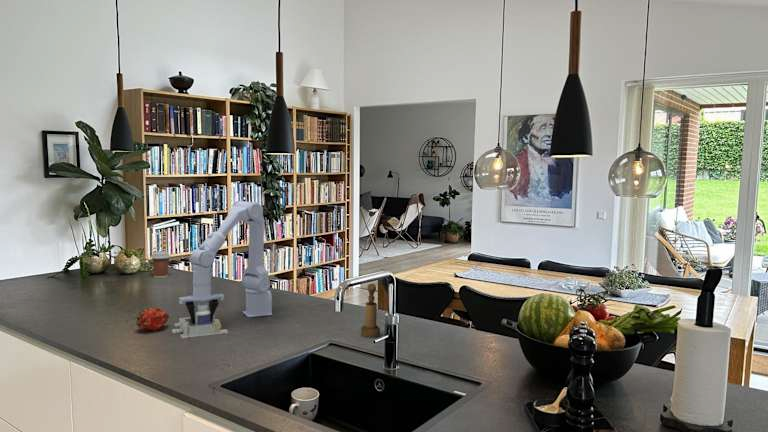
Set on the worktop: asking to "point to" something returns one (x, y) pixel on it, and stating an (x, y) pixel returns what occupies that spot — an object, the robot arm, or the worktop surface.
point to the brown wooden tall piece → (370, 315)
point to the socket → (198, 328)
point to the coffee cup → (160, 264)
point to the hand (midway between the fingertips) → (201, 322)
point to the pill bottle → (202, 314)
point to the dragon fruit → (152, 319)
